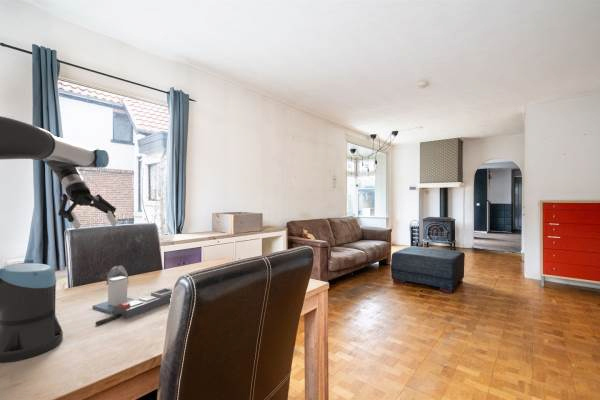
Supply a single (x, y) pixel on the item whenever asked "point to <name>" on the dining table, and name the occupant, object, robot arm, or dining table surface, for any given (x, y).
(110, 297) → the block
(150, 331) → the dining table surface
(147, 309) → the power strip
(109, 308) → the mat
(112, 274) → the stone
